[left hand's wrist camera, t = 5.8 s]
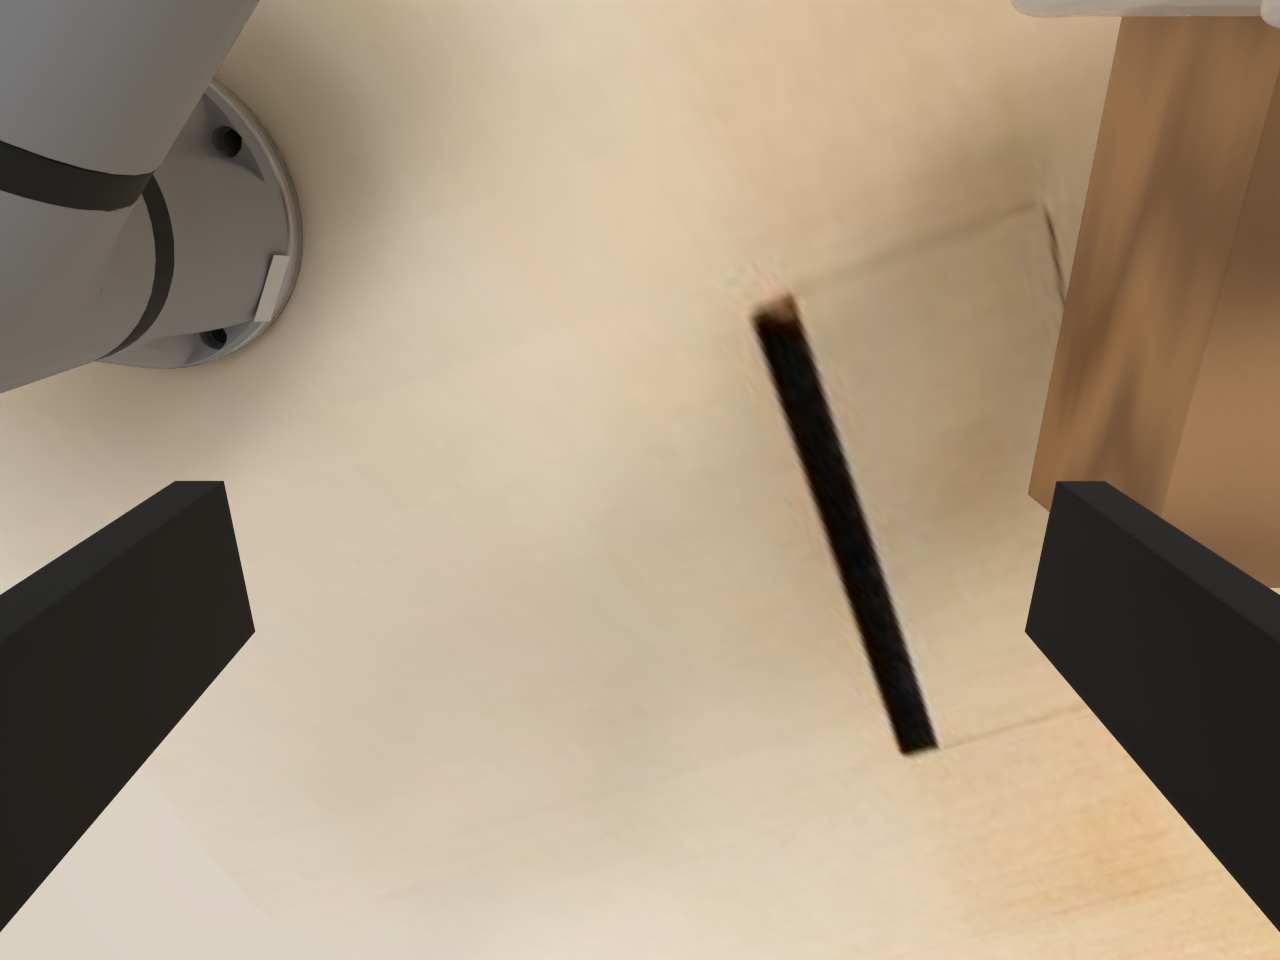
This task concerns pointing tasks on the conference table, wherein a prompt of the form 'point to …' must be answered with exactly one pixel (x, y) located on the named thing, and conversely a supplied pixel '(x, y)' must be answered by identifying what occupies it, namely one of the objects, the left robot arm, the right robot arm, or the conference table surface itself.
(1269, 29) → the bar
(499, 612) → the conference table surface
